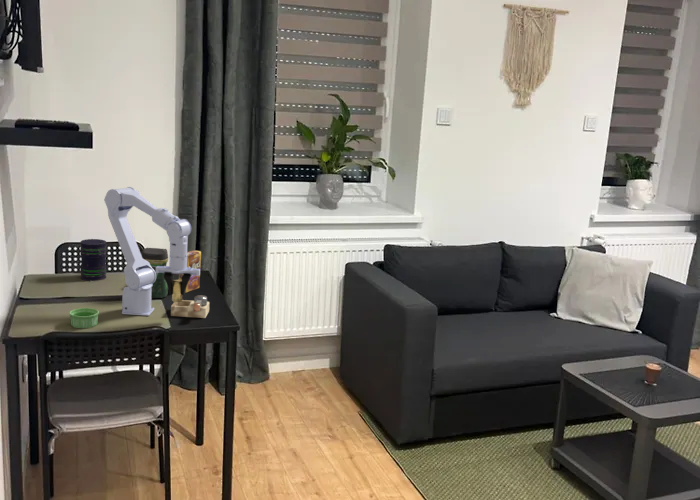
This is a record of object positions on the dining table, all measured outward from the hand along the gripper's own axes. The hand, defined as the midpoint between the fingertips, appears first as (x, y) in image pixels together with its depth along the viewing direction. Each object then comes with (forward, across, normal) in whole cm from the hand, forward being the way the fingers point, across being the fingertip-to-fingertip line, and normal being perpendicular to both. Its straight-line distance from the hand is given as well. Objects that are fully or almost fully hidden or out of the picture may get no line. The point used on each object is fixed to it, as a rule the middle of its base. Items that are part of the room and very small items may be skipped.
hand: (177, 294), depth 232 cm
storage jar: (+10, -43, +45) cm, 63 cm away
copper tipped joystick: (+6, +7, +5) cm, 10 cm away
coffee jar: (+10, -14, +26) cm, 31 cm away
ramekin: (+10, -28, -10) cm, 31 cm away
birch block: (+9, +3, +8) cm, 13 cm away
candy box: (+10, -3, +38) cm, 39 cm away
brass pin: (+2, 0, 0) cm, 2 cm away
